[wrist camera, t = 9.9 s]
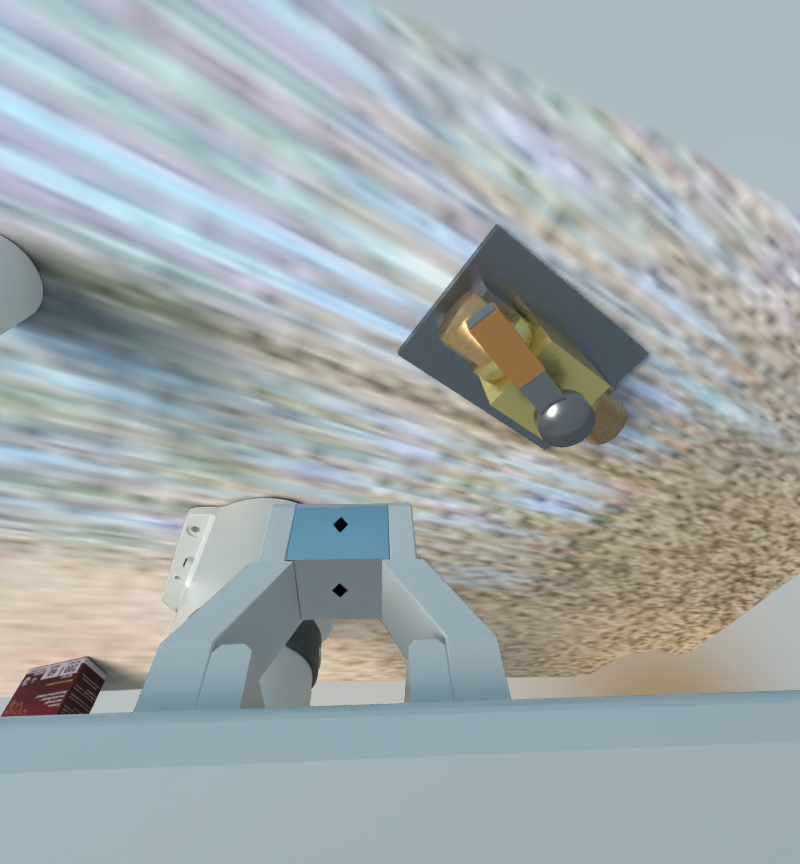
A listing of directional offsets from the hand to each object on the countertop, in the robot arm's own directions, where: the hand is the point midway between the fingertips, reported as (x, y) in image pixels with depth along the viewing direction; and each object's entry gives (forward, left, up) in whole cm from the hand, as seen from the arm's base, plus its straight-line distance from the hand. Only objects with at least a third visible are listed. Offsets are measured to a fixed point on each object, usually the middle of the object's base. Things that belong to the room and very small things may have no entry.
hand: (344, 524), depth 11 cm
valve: (0, -16, -29) cm, 33 cm away
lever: (+1, -12, -19) cm, 23 cm away
